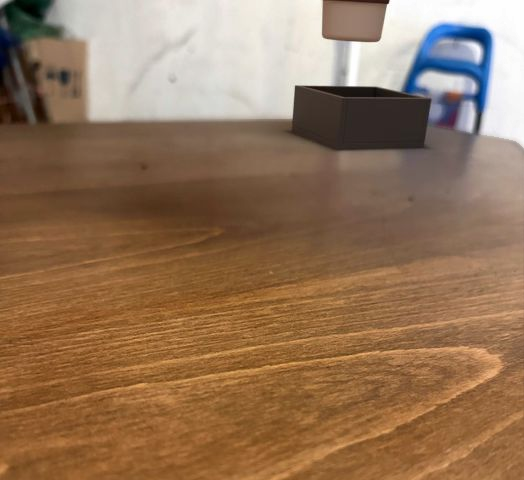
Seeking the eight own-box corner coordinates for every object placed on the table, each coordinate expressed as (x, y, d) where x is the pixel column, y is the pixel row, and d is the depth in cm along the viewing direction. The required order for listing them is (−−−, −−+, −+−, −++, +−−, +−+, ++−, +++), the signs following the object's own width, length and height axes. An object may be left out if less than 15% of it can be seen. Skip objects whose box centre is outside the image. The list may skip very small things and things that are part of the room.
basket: (371, 131, 102) (376, 86, 99) (423, 148, 91) (431, 98, 88) (291, 133, 97) (294, 85, 94) (336, 151, 86) (342, 98, 83)
